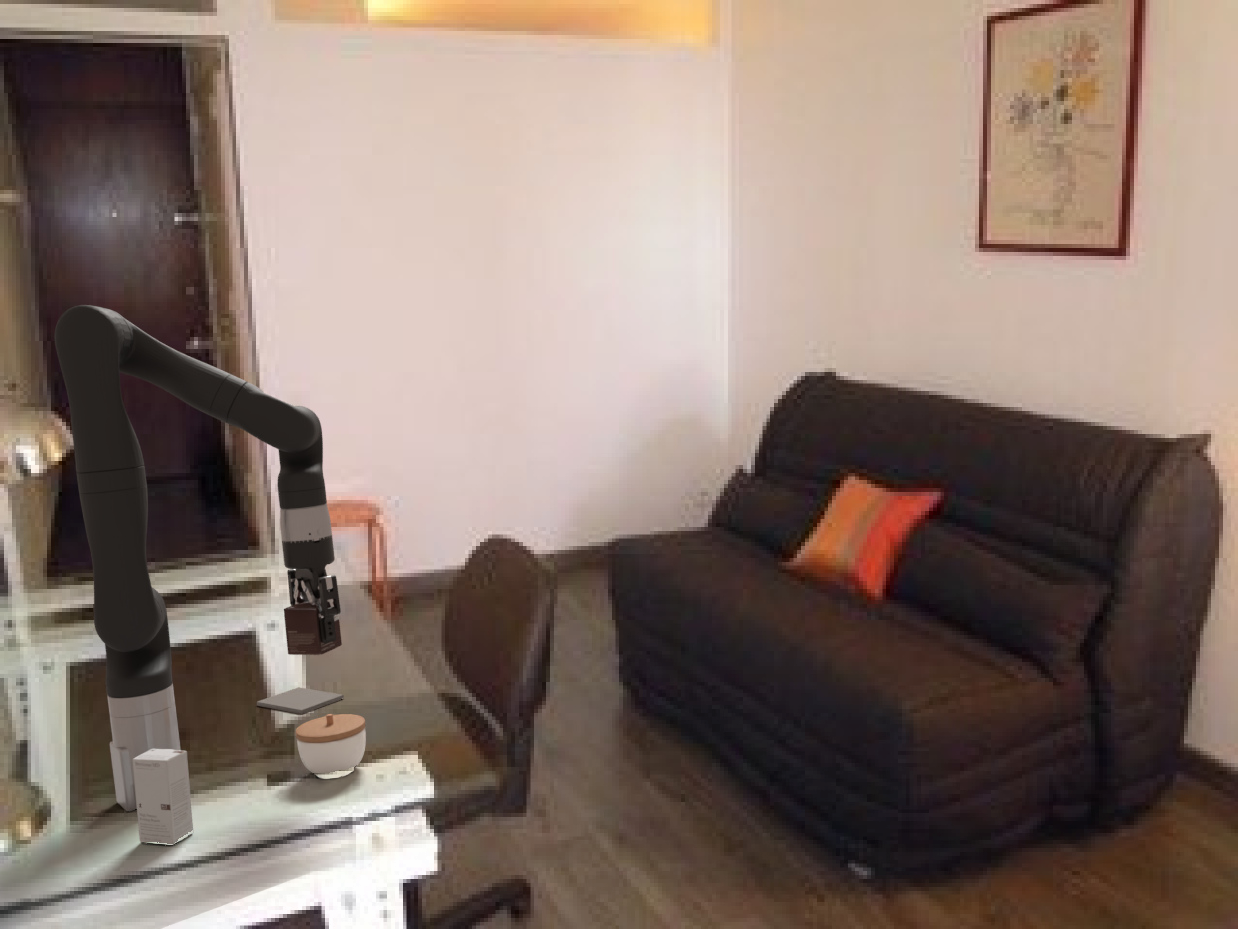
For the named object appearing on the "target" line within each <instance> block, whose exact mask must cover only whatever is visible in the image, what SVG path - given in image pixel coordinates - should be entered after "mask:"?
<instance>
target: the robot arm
mask: <svg viewBox="0 0 1238 929" xmlns="http://www.w3.org/2000/svg"><path fill="white" fill-rule="evenodd" d="M54 346H55V350H56V353H57V354H56V355H57V358H58V362H59V365H60V369H61V373H62V374H61V375H62V377H63V382H64V385H65V390H66V395H67V399H68V404H69V413H70V425H71V432H72V442H73V450H74V458H75V459H74V460H75V471H76V479H77V486H78V488H77V489H78V493H79V501H80V506H81V511H82V517H83V523H84V527H85V533H86V537H87V541H88V547H89V550H90V555H91V561H92V562H91V563H92V572H93V573H92V575H93V623H94V629H95V631H96V634H97V636H98V637H99V639H100V640H101V641H102V643H103V644H104V648H105V655H106V656H105V660H106V662H105V664H106V665H105V677H104V678H105V680H104V683H105V691H106V696H107V697H106V698H107V703H108V711H109V712H108V713H109V722H110V730H111V737H112V741H110V742H109V751H110V759H111V768H112V775H113V782H114V789H115V790H114V791H115V798H116V802H117V804H118V805H119V806H121V807H122V808H123V810H124V811H126V812H127V811H129V812H132V811H135V809H137V805H136V794H135V783H134V771H133V761H132V760H133V759H134V758H135V757H137V756H139V755H141V754H143V753H145V752H147V751H149V750H151V749H173V750H182V749H181V742H180V734H179V726H178V725H179V724H178V718H177V717H178V715H177V709H176V700H175V692H174V690H175V689H174V684H173V683H174V682H173V675H172V673H173V672H172V668H173V667H172V664H173V662H172V649H171V639H170V638H171V637H170V629H169V628H170V627H169V619H168V611H167V607H166V603H165V600H164V598H163V596H162V595H161V594H160V592H159V591H158V590H157V589H156V588H154V587H152V583H151V577H150V573H149V568H148V567H149V566H148V562H147V535H148V534H147V533H148V521H149V520H148V516H149V501H148V500H149V496H148V483H147V478H146V477H147V475H146V466H145V461H144V457H143V452H142V449H141V445H140V442H139V439H138V437H137V434H136V432H135V429H134V427H133V425H132V423H131V420H130V418H129V415H128V413H127V410H126V408H125V405H124V404H125V403H124V400H123V395H122V388H121V373H122V374H125V375H128V376H132V377H135V378H138V379H140V380H142V381H145V382H148V383H150V384H152V385H154V386H156V387H158V388H160V389H162V390H164V391H165V392H167V393H169V394H171V395H172V396H174V397H176V399H177V398H178V399H179V400H181V401H182V402H183V403H185V404H187V405H189V406H190V407H192V408H194V409H196V410H198V411H200V412H202V413H204V414H206V415H208V416H210V417H213V418H215V419H217V420H219V421H221V422H222V423H225V424H228V425H229V426H230V425H231V427H232V426H233V427H236V428H237V429H239V430H240V429H241V430H243V431H245V432H246V433H247V434H249V435H251V436H253V437H254V438H256V439H258V441H259V440H260V441H261V442H263V443H265V444H267V445H268V446H270V447H272V448H274V449H277V450H278V457H279V460H278V461H279V474H278V476H277V494H278V503H279V504H278V505H279V511H280V512H279V527H280V528H279V529H280V535H281V546H282V554H283V565H284V567H285V568H286V569H287V572H286V573H287V574H286V575H287V582H288V583H287V584H288V585H287V586H288V594H289V604H290V606H292V605H295V604H298V603H302V602H305V601H309V602H310V605H311V607H313V608H317V613H318V617H319V628H320V637H321V642H323V643H329V642H333V641H335V640H336V631H335V621H334V616H336V614H339V615H340V614H341V604H340V597H339V588H338V580H337V576H336V575H335V574H331V575H328V573H327V571H326V566H328V565H330V564H332V563H334V561H335V551H334V548H335V547H334V540H333V531H332V523H331V516H330V511H329V507H328V501H327V490H326V483H325V477H324V470H323V468H324V467H323V466H324V465H323V464H324V462H323V461H324V460H323V459H324V444H323V443H324V440H323V439H324V438H323V430H322V424H321V421H320V418H319V417H318V415H317V414H316V413H315V411H313V410H312V409H310V408H309V407H305V406H303V405H302V406H301V405H293V404H290V403H288V402H285V401H283V400H281V399H279V398H276V397H274V396H272V395H270V394H267V393H265V392H264V391H263V389H261V388H259V387H258V386H256V385H255V384H254V383H253V384H252V383H251V382H248V381H246V380H245V379H242V378H240V377H238V376H236V375H234V374H232V373H229V372H227V371H224V370H222V369H220V368H218V367H215V366H213V365H212V364H208V363H207V362H204V361H202V360H199V359H196V358H195V357H191V356H189V355H187V354H185V353H183V352H181V351H178V350H176V349H175V348H172V347H171V346H168V345H166V344H165V343H163V342H161V341H159V340H158V339H157V338H155V337H153V336H151V335H150V334H148V333H147V332H145V331H144V330H143V329H141V328H139V327H138V326H137V325H135V324H133V323H132V322H131V321H130V320H127V319H126V318H125V317H123V316H122V315H121V314H120V313H118V312H117V311H115V310H112V309H109V308H105V307H101V306H96V305H91V304H89V305H87V304H80V305H75V306H73V307H70V308H69V309H66V311H64V312H63V313H62V314H61V316H60V317H59V318H58V320H57V323H56V326H55V329H54ZM333 602H334V605H333ZM327 606H328V607H327ZM321 607H322V608H321Z"/></svg>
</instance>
